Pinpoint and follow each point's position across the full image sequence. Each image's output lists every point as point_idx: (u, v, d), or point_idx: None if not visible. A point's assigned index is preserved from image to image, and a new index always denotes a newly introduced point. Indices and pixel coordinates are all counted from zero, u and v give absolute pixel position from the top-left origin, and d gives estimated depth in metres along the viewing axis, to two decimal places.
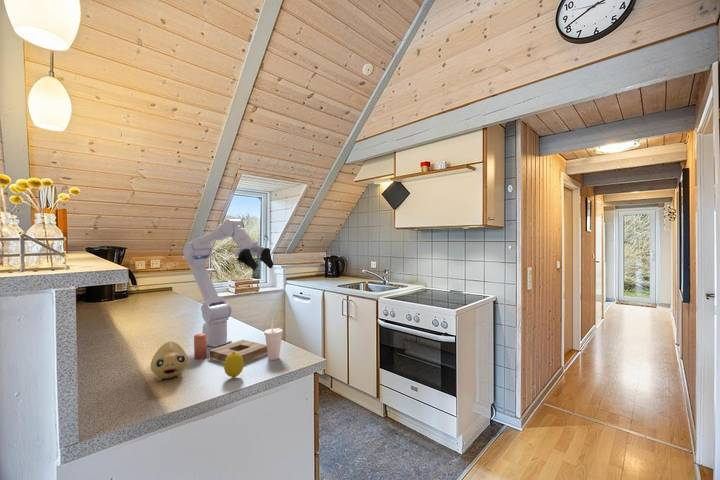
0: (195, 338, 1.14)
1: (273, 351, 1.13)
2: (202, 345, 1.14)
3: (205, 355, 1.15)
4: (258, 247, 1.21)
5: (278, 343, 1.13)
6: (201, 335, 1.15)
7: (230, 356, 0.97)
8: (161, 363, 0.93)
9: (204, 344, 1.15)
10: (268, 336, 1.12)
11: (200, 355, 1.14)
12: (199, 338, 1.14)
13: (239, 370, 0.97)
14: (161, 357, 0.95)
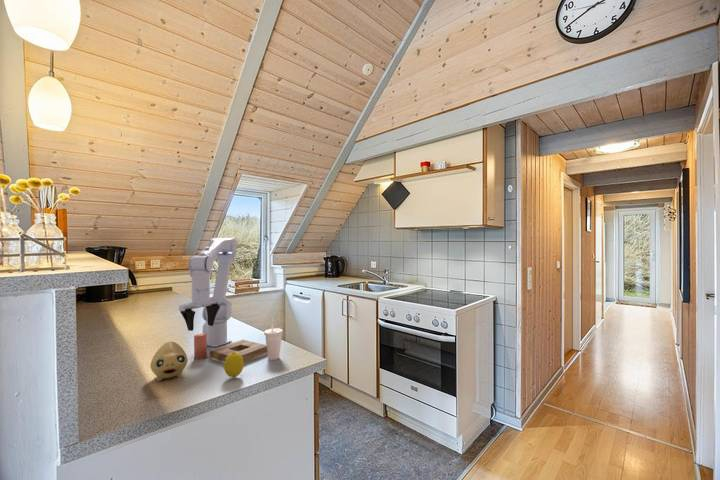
0: (195, 338, 1.14)
1: (273, 351, 1.13)
2: (202, 345, 1.14)
3: (205, 355, 1.15)
4: (209, 303, 1.16)
5: (278, 343, 1.13)
6: (201, 335, 1.15)
7: (230, 356, 0.97)
8: (161, 363, 0.93)
9: (204, 344, 1.15)
10: (268, 336, 1.12)
11: (200, 355, 1.14)
12: (199, 338, 1.14)
13: (239, 370, 0.97)
14: (161, 357, 0.95)
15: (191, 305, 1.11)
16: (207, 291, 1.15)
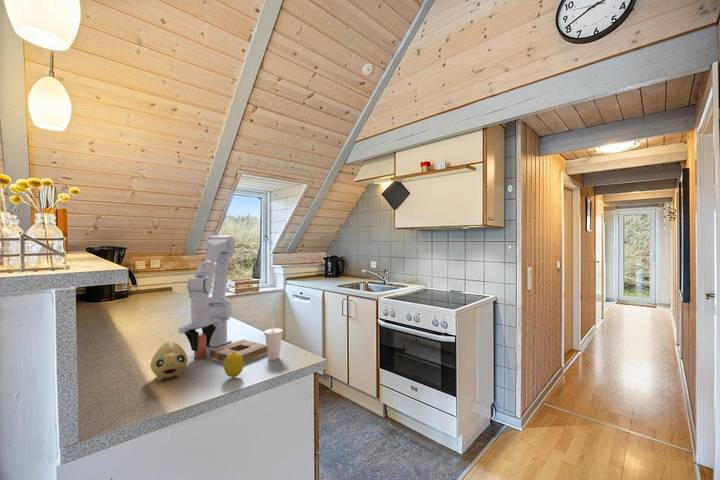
0: None
1: (273, 351, 1.13)
2: (202, 345, 1.14)
3: (205, 355, 1.15)
4: (208, 324, 1.16)
5: (278, 343, 1.13)
6: (201, 335, 1.15)
7: (230, 356, 0.97)
8: (161, 363, 0.93)
9: (204, 344, 1.15)
10: (268, 336, 1.12)
11: (200, 355, 1.14)
12: (199, 338, 1.14)
13: (239, 370, 0.97)
14: (161, 357, 0.95)
15: (190, 327, 1.11)
16: (206, 312, 1.15)
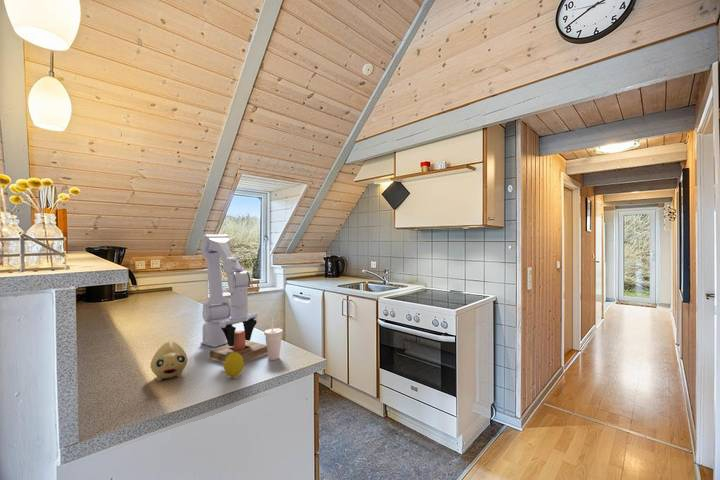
0: (235, 335, 1.15)
1: (273, 351, 1.13)
2: (241, 342, 1.15)
3: None
4: None
5: (278, 343, 1.13)
6: (240, 332, 1.16)
7: (230, 356, 0.97)
8: (161, 363, 0.93)
9: (243, 341, 1.16)
10: (268, 336, 1.12)
11: None
12: (239, 335, 1.15)
13: (239, 370, 0.97)
14: (161, 357, 0.95)
15: (231, 321, 1.12)
16: (246, 307, 1.16)
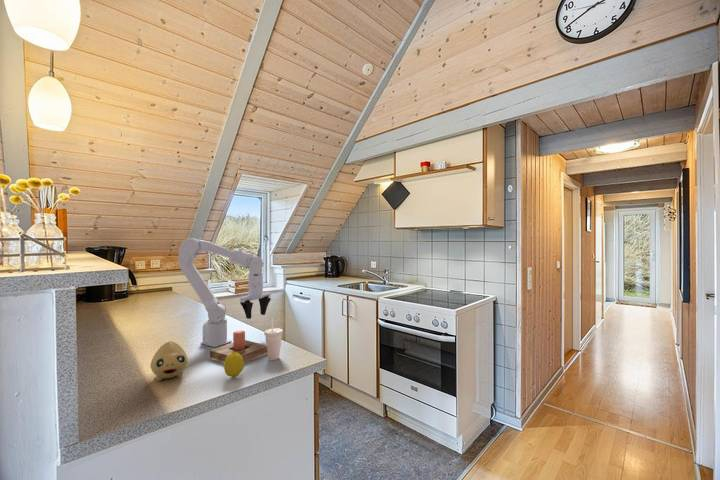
0: (235, 335, 1.15)
1: (273, 351, 1.13)
2: (241, 342, 1.15)
3: None
4: None
5: (278, 343, 1.13)
6: (240, 332, 1.16)
7: (230, 356, 0.97)
8: (161, 363, 0.93)
9: (243, 341, 1.16)
10: (268, 336, 1.12)
11: None
12: (239, 335, 1.15)
13: (239, 370, 0.97)
14: (161, 357, 0.95)
15: (249, 297, 1.32)
16: (261, 286, 1.36)
